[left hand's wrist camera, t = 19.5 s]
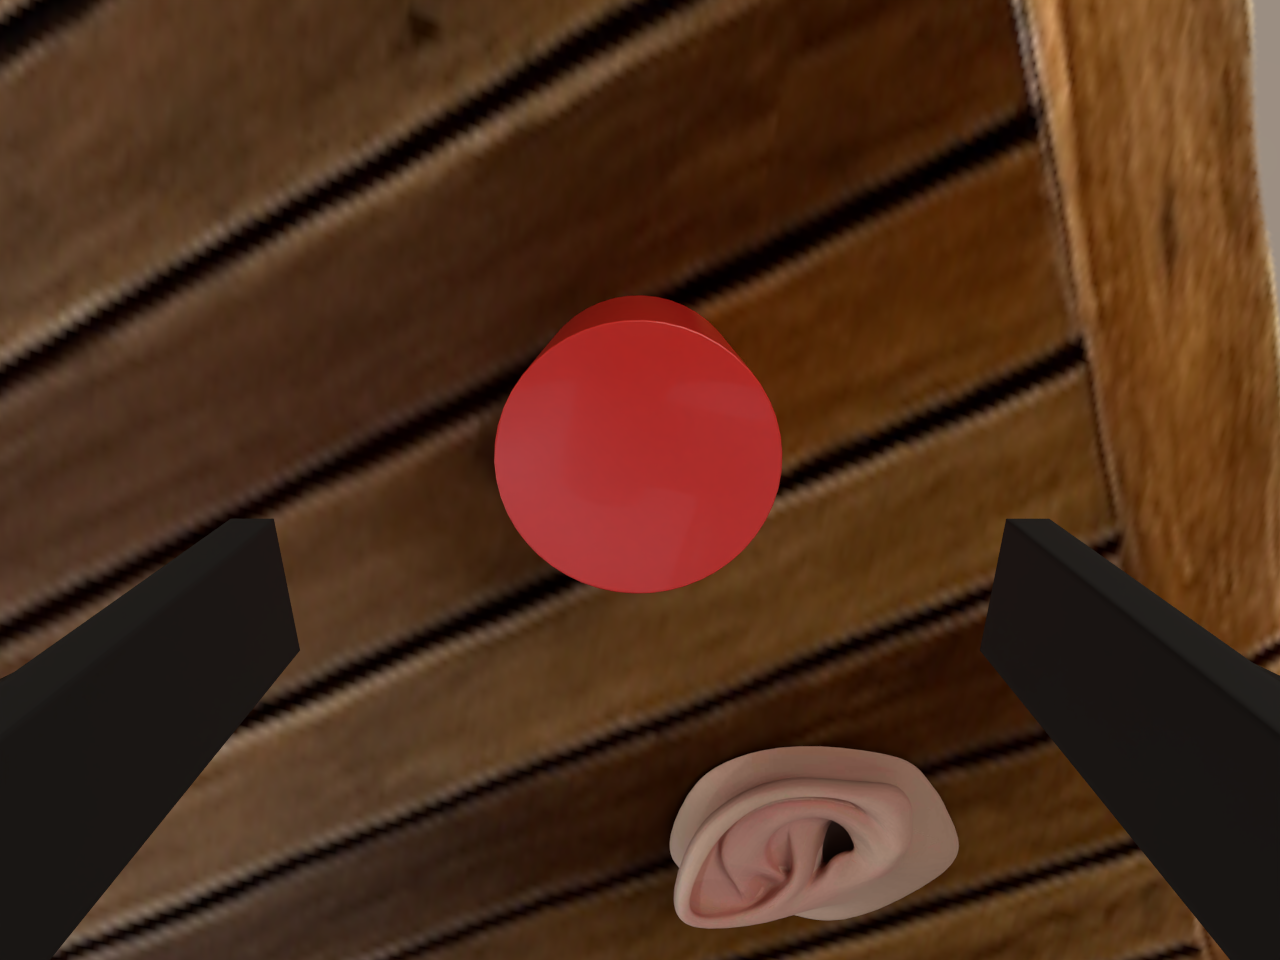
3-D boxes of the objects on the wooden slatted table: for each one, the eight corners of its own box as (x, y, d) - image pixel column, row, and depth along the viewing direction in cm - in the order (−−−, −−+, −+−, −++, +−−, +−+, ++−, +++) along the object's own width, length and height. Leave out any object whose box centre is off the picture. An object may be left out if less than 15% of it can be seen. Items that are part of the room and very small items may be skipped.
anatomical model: (1043, 892, 29) (862, 1036, 33) (997, 817, 33) (839, 953, 36) (808, 745, 27) (636, 917, 30) (787, 682, 31) (636, 842, 34)
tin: (786, 409, 27) (841, 473, 19) (633, 539, 28) (631, 641, 21) (644, 246, 24) (646, 251, 17) (489, 398, 26) (434, 460, 19)
